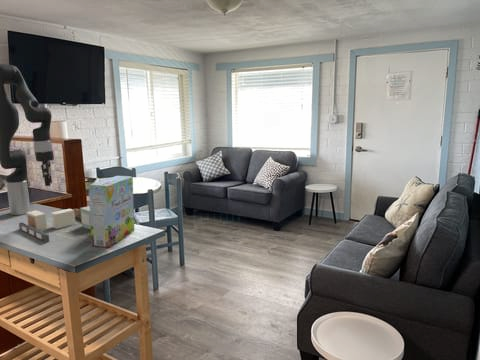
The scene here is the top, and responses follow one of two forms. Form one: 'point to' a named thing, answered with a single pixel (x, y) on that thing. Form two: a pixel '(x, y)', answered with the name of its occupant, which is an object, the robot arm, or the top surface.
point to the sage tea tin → (86, 217)
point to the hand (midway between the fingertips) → (48, 184)
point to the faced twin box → (36, 220)
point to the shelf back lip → (77, 213)
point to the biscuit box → (63, 218)
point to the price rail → (34, 232)
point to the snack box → (111, 210)
